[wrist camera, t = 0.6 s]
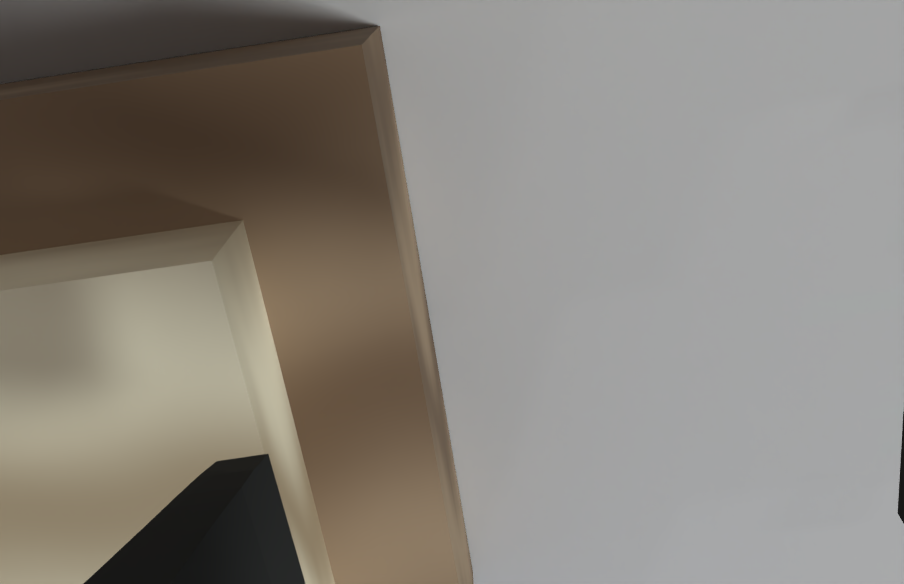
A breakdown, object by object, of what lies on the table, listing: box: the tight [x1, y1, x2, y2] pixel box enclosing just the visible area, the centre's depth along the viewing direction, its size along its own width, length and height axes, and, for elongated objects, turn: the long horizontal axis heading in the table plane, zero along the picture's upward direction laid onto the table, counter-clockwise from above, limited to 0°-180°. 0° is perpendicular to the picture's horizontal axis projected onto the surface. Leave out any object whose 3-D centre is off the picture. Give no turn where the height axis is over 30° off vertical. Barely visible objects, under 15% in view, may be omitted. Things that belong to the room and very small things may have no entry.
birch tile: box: [0, 220, 335, 584], centre depth 15 cm, size 9×6×2 cm, turn 8°
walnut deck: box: [0, 26, 473, 584], centre depth 17 cm, size 14×10×4 cm
